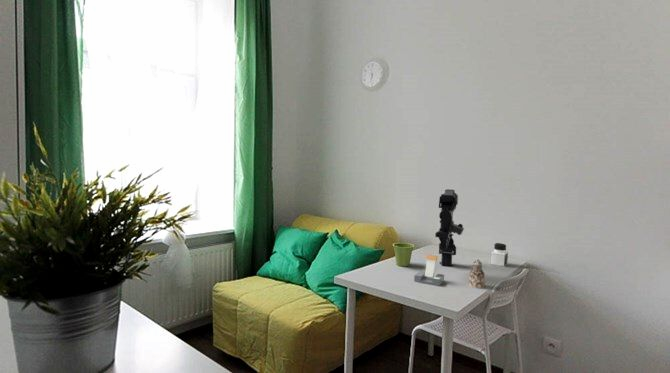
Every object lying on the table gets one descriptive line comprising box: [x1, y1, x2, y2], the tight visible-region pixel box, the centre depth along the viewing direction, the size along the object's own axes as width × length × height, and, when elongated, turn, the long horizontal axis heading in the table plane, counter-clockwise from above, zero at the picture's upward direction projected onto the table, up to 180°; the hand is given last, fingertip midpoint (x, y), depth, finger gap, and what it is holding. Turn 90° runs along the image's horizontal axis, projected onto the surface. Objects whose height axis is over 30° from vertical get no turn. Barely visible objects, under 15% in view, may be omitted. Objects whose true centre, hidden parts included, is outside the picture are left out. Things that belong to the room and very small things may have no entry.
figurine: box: [468, 259, 486, 289], centre depth 175 cm, size 7×7×12 cm
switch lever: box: [424, 253, 439, 278], centre depth 181 cm, size 3×5×10 cm, turn 60°
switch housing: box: [413, 270, 445, 287], centre depth 180 cm, size 9×12×3 cm
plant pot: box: [392, 242, 415, 267], centre depth 207 cm, size 12×12×11 cm
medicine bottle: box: [490, 242, 509, 267], centre depth 212 cm, size 7×7×12 cm
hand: (445, 248), depth 193 cm, fingers open, 3 cm apart
